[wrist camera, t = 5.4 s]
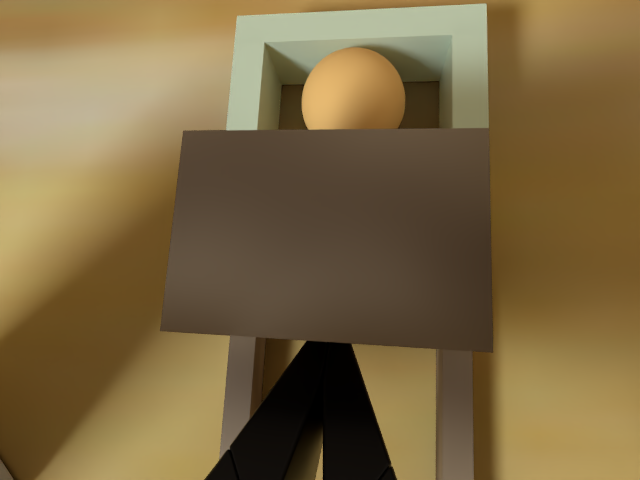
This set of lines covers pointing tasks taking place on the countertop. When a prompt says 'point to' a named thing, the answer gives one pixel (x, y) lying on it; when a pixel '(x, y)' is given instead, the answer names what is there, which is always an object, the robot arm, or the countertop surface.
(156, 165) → the countertop surface
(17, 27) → the countertop surface
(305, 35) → the grey-green flat block
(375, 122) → the ball
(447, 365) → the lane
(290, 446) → the robot arm
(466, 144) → the brown wooden box
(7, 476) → the coffee box
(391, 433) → the countertop surface
